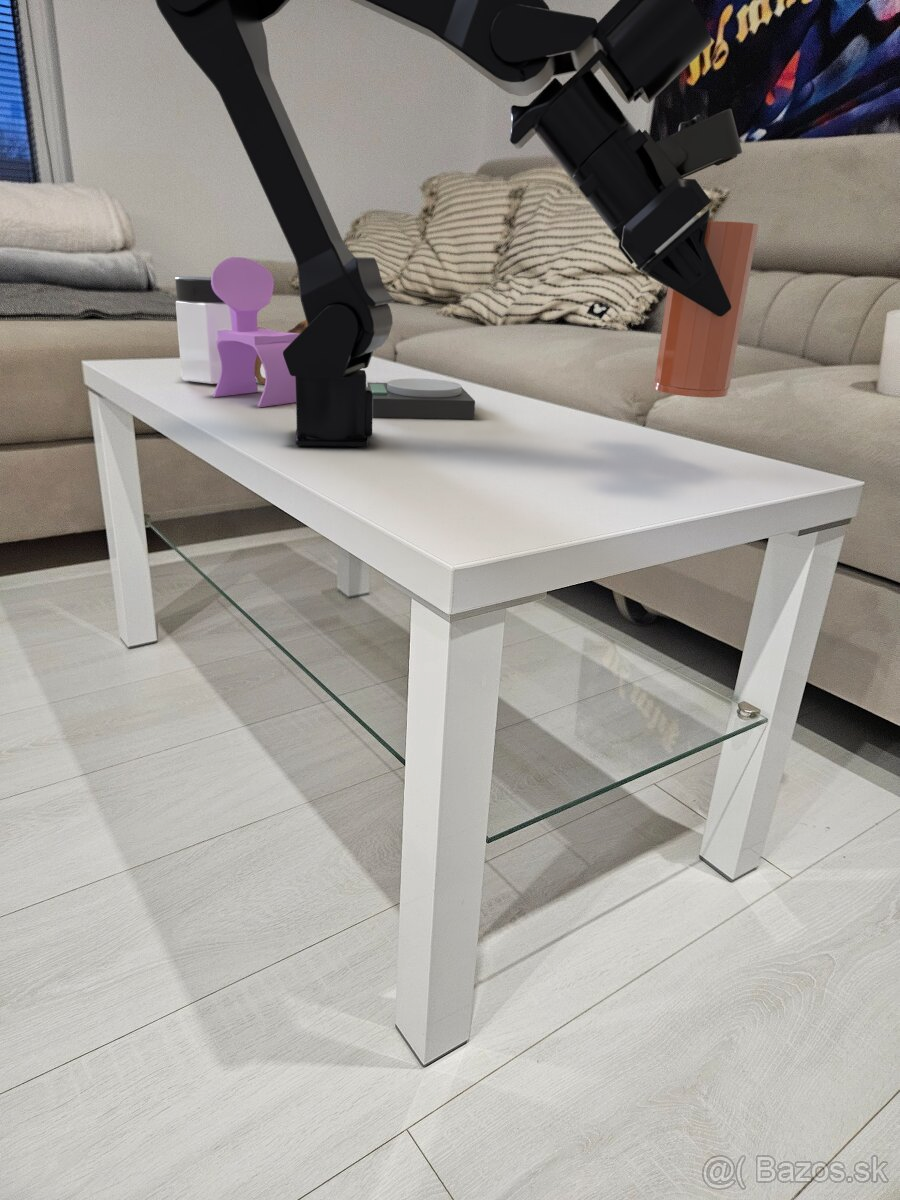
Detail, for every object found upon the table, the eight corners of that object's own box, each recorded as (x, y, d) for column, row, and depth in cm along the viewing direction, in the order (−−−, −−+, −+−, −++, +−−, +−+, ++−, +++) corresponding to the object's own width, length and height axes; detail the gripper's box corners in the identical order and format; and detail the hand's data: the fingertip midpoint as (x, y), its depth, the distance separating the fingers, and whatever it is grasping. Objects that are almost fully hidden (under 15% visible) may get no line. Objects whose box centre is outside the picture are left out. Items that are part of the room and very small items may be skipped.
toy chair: (255, 409, 89) (248, 259, 83) (205, 397, 94) (195, 255, 88) (312, 401, 95) (309, 261, 89) (262, 390, 100) (257, 257, 94)
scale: (372, 417, 88) (373, 390, 87) (367, 399, 98) (367, 375, 97) (474, 419, 90) (475, 393, 89) (458, 401, 100) (459, 377, 99)
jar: (194, 385, 100) (186, 279, 95) (170, 376, 106) (161, 275, 101) (262, 381, 105) (258, 280, 100) (236, 372, 111) (231, 277, 106)
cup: (669, 396, 66) (696, 219, 61) (643, 384, 72) (665, 221, 67) (740, 398, 67) (772, 224, 62) (708, 386, 73) (736, 225, 68)
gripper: (700, 36, 53) (841, 234, 55) (677, 90, 70) (785, 239, 72) (563, 170, 57) (701, 347, 60) (573, 190, 74) (679, 327, 77)
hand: (720, 310), depth 67 cm, fingers closed on cup, 6 cm apart
